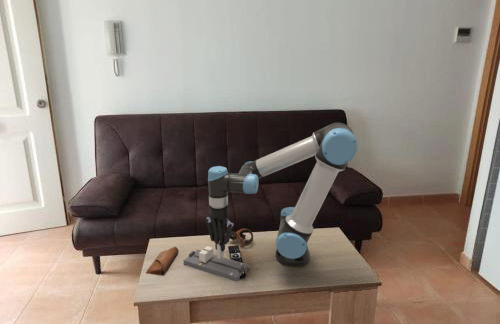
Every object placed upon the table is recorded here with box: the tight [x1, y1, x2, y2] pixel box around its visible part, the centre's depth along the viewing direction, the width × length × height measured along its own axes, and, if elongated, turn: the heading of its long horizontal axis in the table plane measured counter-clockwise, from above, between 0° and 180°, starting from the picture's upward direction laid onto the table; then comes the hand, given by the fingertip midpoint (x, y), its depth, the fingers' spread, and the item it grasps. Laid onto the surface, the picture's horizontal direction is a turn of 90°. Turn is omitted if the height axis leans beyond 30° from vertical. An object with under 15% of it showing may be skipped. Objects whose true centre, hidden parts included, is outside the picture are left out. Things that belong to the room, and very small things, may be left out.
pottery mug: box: [230, 228, 254, 249], centre depth 173 cm, size 12×9×8 cm
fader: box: [199, 245, 214, 263], centre depth 156 cm, size 3×6×4 cm, turn 153°
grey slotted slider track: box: [183, 249, 250, 283], centre depth 155 cm, size 26×10×3 cm, turn 63°
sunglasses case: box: [145, 246, 180, 276], centre depth 157 cm, size 18×7×7 cm
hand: (220, 257), depth 153 cm, fingers closed
